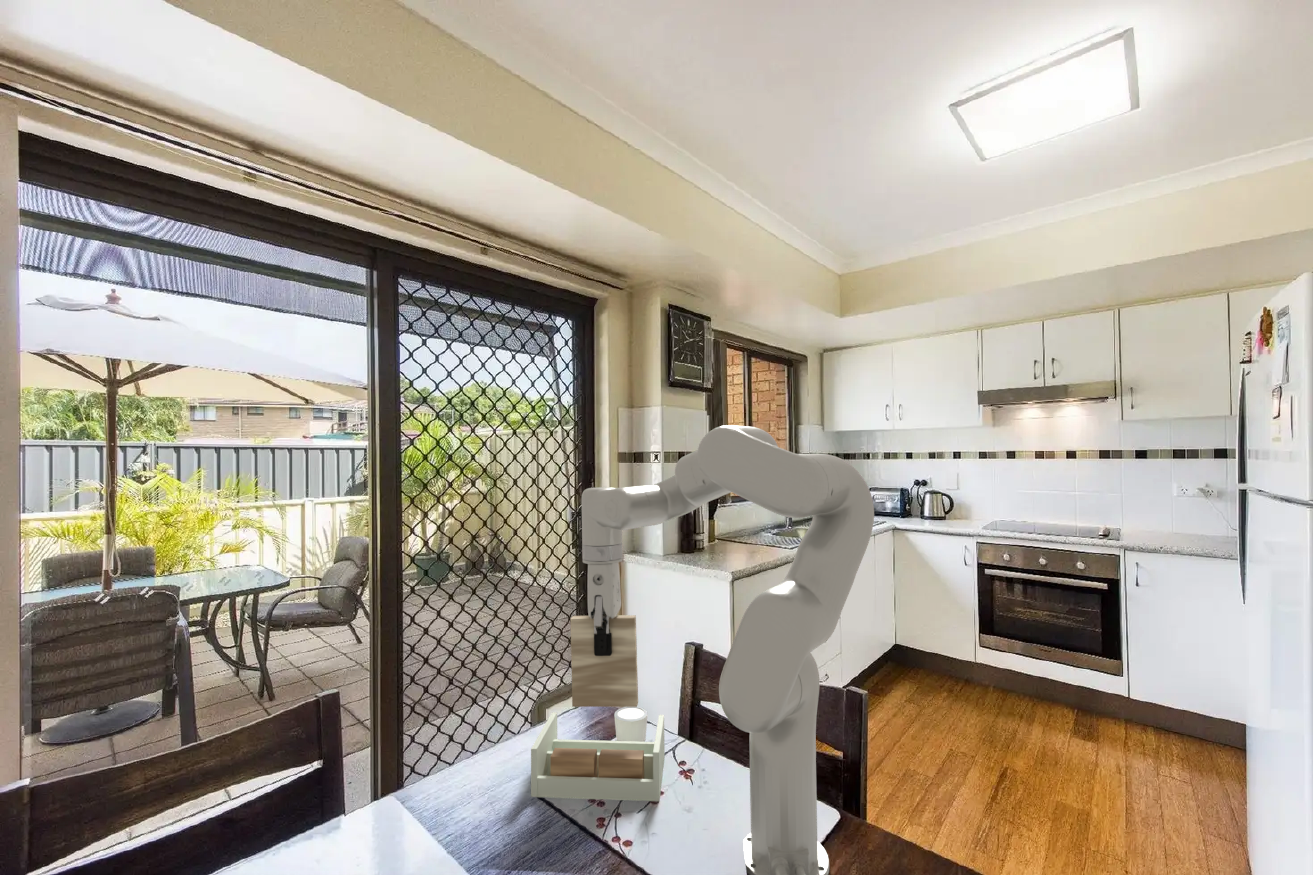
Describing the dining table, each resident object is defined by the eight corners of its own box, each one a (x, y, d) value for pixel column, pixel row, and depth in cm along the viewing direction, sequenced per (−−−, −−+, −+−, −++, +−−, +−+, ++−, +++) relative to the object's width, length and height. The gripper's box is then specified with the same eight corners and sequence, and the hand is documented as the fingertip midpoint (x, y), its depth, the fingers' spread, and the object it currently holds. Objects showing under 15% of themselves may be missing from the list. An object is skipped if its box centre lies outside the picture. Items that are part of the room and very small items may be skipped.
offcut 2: (642, 795, 96) (642, 759, 97) (598, 793, 97) (598, 758, 97) (644, 785, 99) (643, 750, 100) (601, 783, 100) (601, 749, 100)
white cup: (609, 753, 113) (609, 718, 113) (621, 737, 119) (621, 704, 120) (641, 758, 111) (641, 722, 111) (652, 742, 117) (652, 707, 118)
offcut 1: (594, 793, 97) (593, 757, 97) (550, 791, 98) (550, 756, 98) (597, 783, 100) (596, 748, 100) (555, 782, 101) (554, 747, 101)
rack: (659, 810, 95) (658, 752, 95) (531, 805, 96) (530, 748, 97) (664, 765, 109) (664, 714, 109) (552, 761, 110) (552, 712, 111)
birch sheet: (636, 706, 103) (634, 618, 104) (572, 706, 104) (570, 618, 105) (638, 702, 105) (635, 615, 106) (574, 702, 106) (572, 615, 107)
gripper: (616, 560, 98) (618, 668, 97) (627, 546, 114) (629, 639, 113) (573, 560, 98) (575, 668, 97) (590, 547, 114) (592, 639, 113)
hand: (604, 652), depth 105 cm, fingers closed on birch sheet, 2 cm apart
